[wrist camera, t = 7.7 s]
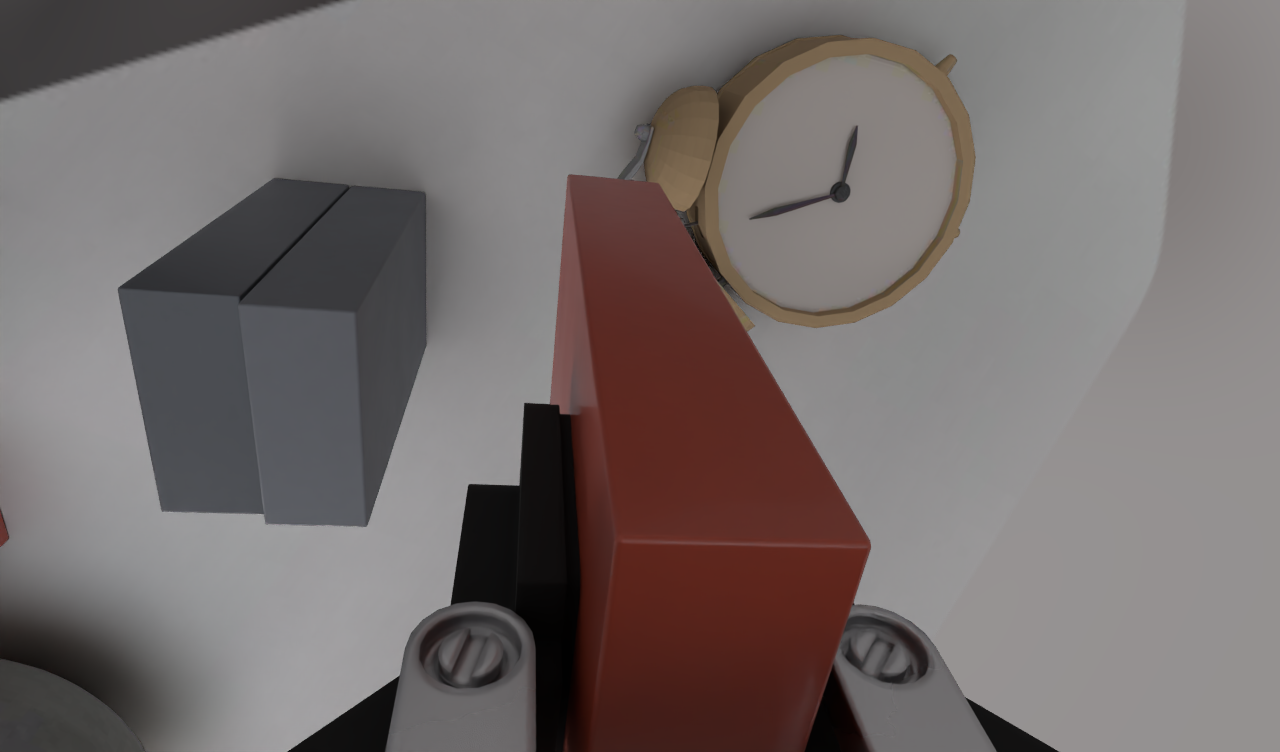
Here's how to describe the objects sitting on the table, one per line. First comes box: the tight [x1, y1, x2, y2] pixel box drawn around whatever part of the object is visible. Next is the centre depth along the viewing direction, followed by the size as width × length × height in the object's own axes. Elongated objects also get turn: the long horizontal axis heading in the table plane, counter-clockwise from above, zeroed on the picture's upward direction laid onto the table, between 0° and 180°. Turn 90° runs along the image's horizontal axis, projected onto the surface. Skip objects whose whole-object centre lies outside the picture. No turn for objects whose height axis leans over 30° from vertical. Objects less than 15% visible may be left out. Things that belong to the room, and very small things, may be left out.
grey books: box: [118, 178, 426, 527], centre depth 26 cm, size 7×6×13 cm
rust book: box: [550, 174, 871, 752], centre depth 12 cm, size 7×2×12 cm, turn 173°
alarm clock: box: [617, 35, 976, 331], centre depth 31 cm, size 11×5×15 cm
